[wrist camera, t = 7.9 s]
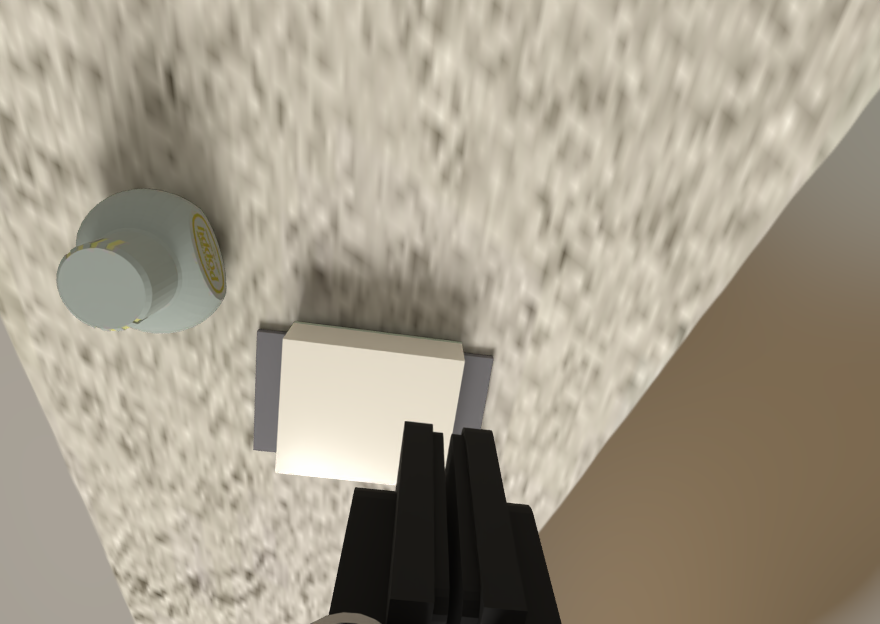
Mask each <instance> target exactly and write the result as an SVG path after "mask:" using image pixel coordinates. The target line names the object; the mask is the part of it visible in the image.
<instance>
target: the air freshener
mask: <svg viewBox="0 0 880 624" xmlns="http://www.w3.org/2000/svg"><path fill="white" fill-rule="evenodd" d="M57 288H58V291H59V294H60V297H61V299H62V301H63V303H64V304H65V306H66V307H67V308H68V310H69V311H70V312H71V313H72V314H73V315H74V316H75V317H76V318H78V319H79V320H80V321H82V322H83V323H85V324H87V325H89V326H91V327H93V328H96V327H98V328H100V329H101V330H104V331H122V330H126V329H127V328H132V329H136V330H139V331H143V332H149V333H174V332H180V331H183V330H186V329H189V328H192V327H194V326H196V325H198V324H200V323H201V322H203V321H205V320H206V319H207V318H208V317H209V316H211V315H212V314H213V313H214V312H215V311H216V309H217V308H218V307H219V306H220V304H221V303H222V301H223V299H224V297H225V295H226V274H225V268H224V263H223V259H222V255H221V251H220V248H219V245H218V242H217V239H216V236H215V234H214V231H213V229H212V227H211V225H210V223H209V221H208V219H207V217H206V216H205V214H204V213H203V212H202V210H201V209H200V208H198V207H197V206H195V205H194V204H193V203H191V202H190V201H188V200H186V199H184V198H182V197H180V196H178V195H175V194H172V193H168V192H165V191H161V190H154V189H134V190H128V191H123V192H120V193H117V194H115V195H112V196H110V197H108V198H106V199H105V200H103V201H101V202H100V203H99V204H97V205H96V206H95V207H94V208H93V209H92V210H91V211H90V212H89V213H88V215H87V216H86V217H85V219H84V220H83V222H82V224H81V226H80V228H79V231H78V233H77V239H76V247H75V248H73V249H72V250H70V253H68V254H67V255H65V256H64V257H63V259H62V260H61V262H60V264H59V267H58V271H57Z"/></svg>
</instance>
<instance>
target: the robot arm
mask: <svg viewBox="0 0 880 624" xmlns="http://www.w3.org/2000/svg"><path fill="white" fill-rule="evenodd" d="M311 624H561V620H560V616H559V612H558V608H557V604H556V601H555V597H554V593H553V589H552V585H551V581H550V577H549V573H548V569H547V565H546V562H545V558H544V554H543V550H542V546H541V542H540V538H539V535H538V531H537V527H536V523H535V519H534V515H533V512H532V509H531V507H530V506H529V505H524V504H514V503H506V498H505V493H504V488H503V483H502V478H501V472H500V467H499V462H498V457H497V452H496V447H495V442H494V437H493V433H492V431H491V430H483V429H474V428H465V427H463V429H462V432H461V435H459V434H451V437H450V443H449V449H448V455H447V461H446V467H445V460H444V435H443V433H441V432H433V424H429V423H420V422H411V421H405V423H404V430H403V437H402V445H401V452H400V460H399V468H398V475H397V483H396V490H395V491H387V490H377V489H367V488H357V487H355V490H354V494H353V499H352V504H351V509H350V514H349V518H348V523H347V528H346V533H345V538H344V543H343V548H342V553H341V558H340V562H339V567H338V572H337V577H336V582H335V587H334V592H333V597H332V602H331V607H330V611H329V615H327V616H325V617H323V618H321V619H319V620H317V621H315V622H313V623H311Z"/></svg>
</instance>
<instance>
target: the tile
mask: <svg viewBox="0 0 880 624" xmlns="http://www.w3.org/2000/svg"><path fill="white" fill-rule="evenodd" d="M464 364H465V359H464V353H463V347H462V342H457V341H450V340H442V339H434V338H426V337H418V336H410V335H402V334H394V333H386V332H378V331H370V330H362V329H354V328H346V327H338V326H330V325H322V324H314V323H306V322H298V321H295V322H294V323H293V325H292V326H291V328H290V329H289V331H288V332H287V333H286V335H285V336H284V338H283V344H282V362H281V380H280V398H279V416H278V433H277V451H276V469H275V473H284V474H293V475H303V476H312V477H322V478H331V479H341V480H350V481H360V482H369V483H379V484H388V485H396V483H397V475H398V468H399V460H400V452H401V445H402V437H403V430H404V423H405V421H411V422H420V423H429V424H433V432H441V433H443V435H444V460H445V467H446V461H447V455H448V449H449V443H450V437H451V434H452V433H453V427H454V421H455V415H456V410H457V404H458V398H459V392H460V387H461V381H462V375H463V369H464Z"/></svg>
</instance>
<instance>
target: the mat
mask: <svg viewBox="0 0 880 624" xmlns="http://www.w3.org/2000/svg"><path fill="white" fill-rule="evenodd" d="M286 333H287V332H281V331H273V330H264V329H259V330H258V331H257V350H256V383H255V416H254V449H253V450H258V451H267V452H276V451H277V433H278V416H279V398H280V380H281V362H282V344H283V338H284V336H285V335H286ZM464 359H465V364H464V369H463V375H462V381H461V387H460V392H459V398H458V404H457V410H456V415H455V421H454V427H453V433H452V434H459V435H461V432H462V429H463V427H465V428H474V429H481V424H482V418H483V413H484V408H485V402H486V397H487V391H488V386H489V380H490V375H491V369H492V364H493V356H488V355H479V354H471V353H464Z"/></svg>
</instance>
